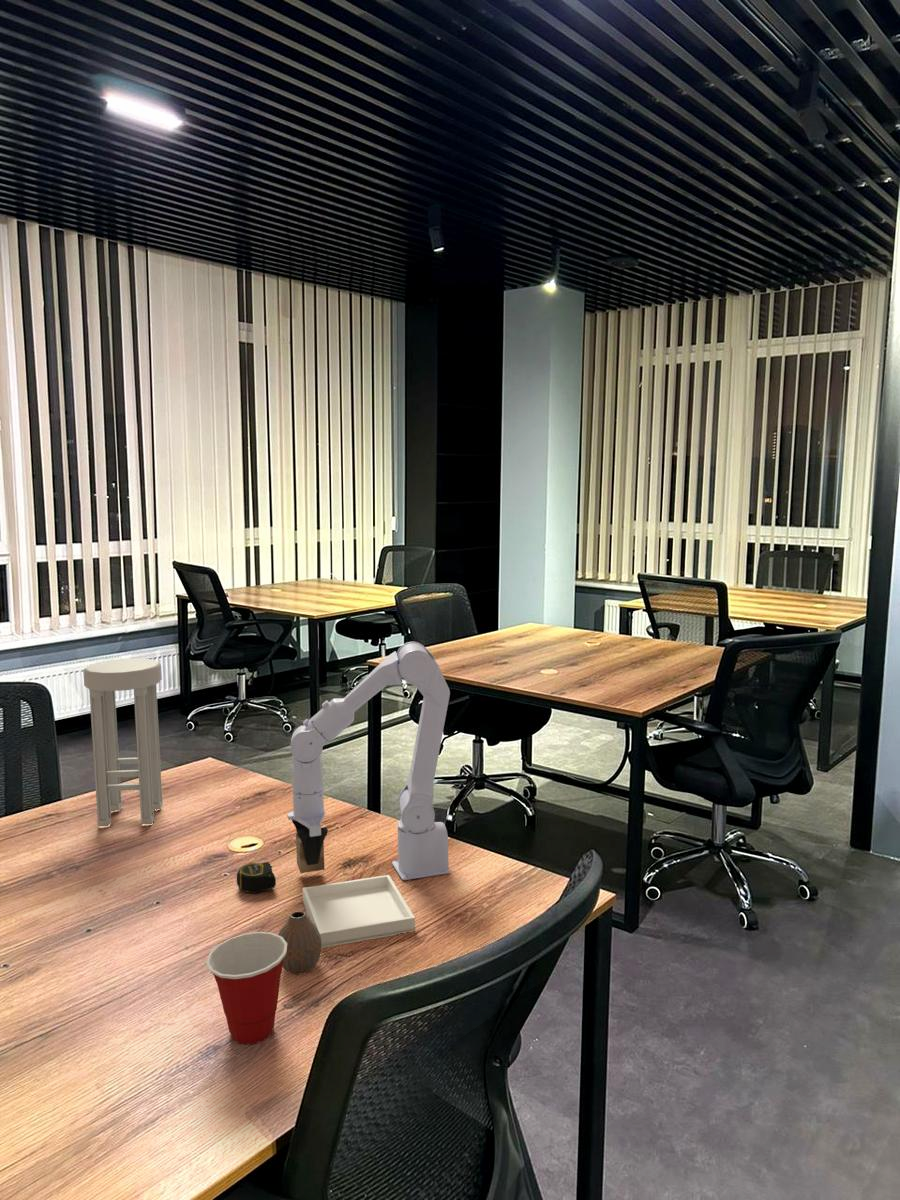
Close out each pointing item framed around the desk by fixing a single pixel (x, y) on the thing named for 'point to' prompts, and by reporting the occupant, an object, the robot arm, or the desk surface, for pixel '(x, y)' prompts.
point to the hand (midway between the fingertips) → (310, 858)
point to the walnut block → (302, 861)
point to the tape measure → (256, 877)
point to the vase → (300, 943)
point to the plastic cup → (249, 982)
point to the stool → (105, 740)
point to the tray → (357, 910)
